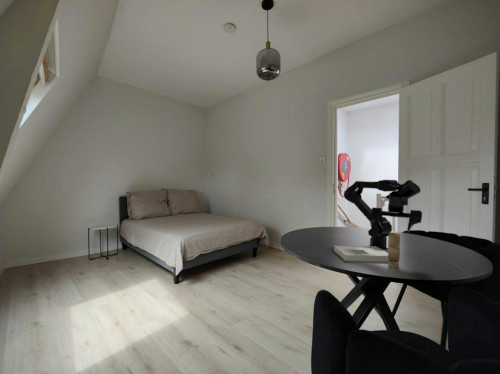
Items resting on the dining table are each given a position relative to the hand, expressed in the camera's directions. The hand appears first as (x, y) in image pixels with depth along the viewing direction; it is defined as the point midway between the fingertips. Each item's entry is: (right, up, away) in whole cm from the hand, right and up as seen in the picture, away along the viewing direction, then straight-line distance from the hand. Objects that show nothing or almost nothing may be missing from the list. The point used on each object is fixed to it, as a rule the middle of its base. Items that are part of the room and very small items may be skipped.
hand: (395, 230), depth 98 cm
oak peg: (-5, -13, -6) cm, 15 cm away
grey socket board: (-11, -13, +6) cm, 18 cm away
